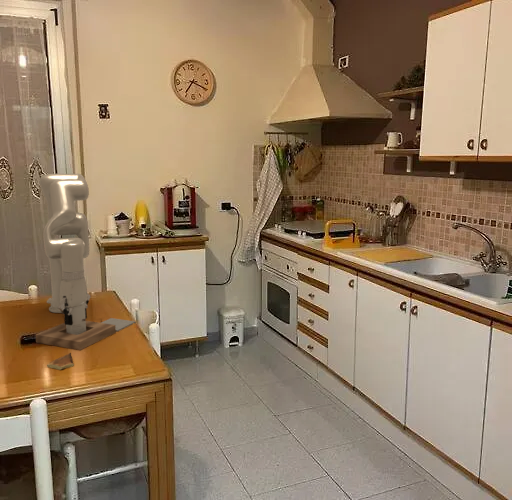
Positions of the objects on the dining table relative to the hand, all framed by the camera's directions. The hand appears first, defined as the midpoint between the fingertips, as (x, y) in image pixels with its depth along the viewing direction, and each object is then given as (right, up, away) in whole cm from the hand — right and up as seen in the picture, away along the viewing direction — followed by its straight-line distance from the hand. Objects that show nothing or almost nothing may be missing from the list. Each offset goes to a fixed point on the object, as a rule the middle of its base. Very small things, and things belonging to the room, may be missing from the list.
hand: (75, 321), depth 194 cm
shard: (+3, -11, -24) cm, 26 cm away
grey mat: (+10, -4, +15) cm, 18 cm away
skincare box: (0, -5, +1) cm, 5 cm away
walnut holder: (0, -6, +1) cm, 6 cm away
